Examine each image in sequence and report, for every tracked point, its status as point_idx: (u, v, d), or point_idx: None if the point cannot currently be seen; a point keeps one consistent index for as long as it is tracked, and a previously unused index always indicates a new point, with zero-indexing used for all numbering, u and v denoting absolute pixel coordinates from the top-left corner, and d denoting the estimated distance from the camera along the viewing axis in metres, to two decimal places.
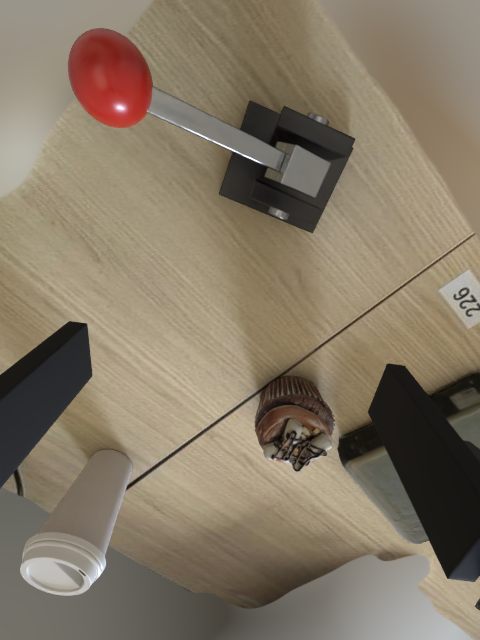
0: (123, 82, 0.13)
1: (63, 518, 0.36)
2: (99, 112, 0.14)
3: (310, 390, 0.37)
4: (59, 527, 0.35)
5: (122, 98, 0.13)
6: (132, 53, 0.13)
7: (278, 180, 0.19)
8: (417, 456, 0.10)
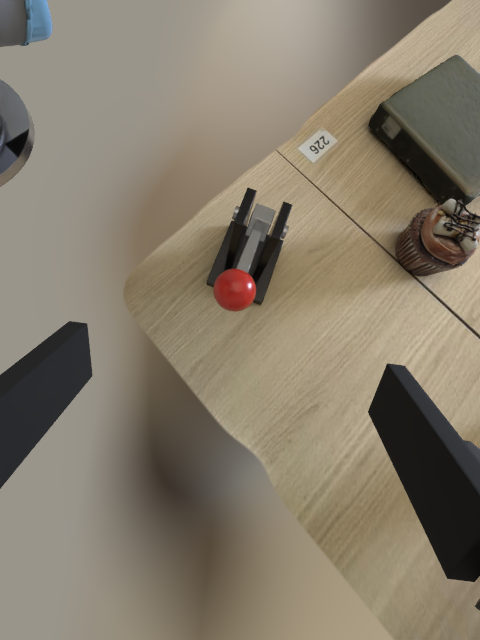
0: (240, 272, 0.25)
1: None
2: (252, 290, 0.25)
3: (405, 231, 0.45)
4: None
5: (246, 275, 0.25)
6: (226, 270, 0.25)
7: (269, 226, 0.32)
8: (417, 456, 0.10)
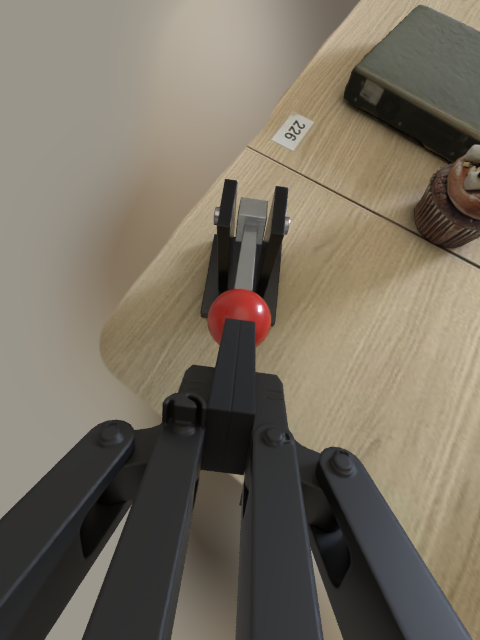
0: (242, 293, 0.16)
1: None
2: (266, 315, 0.16)
3: (424, 200, 0.37)
4: None
5: (252, 295, 0.16)
6: (220, 295, 0.17)
7: (264, 222, 0.23)
8: None
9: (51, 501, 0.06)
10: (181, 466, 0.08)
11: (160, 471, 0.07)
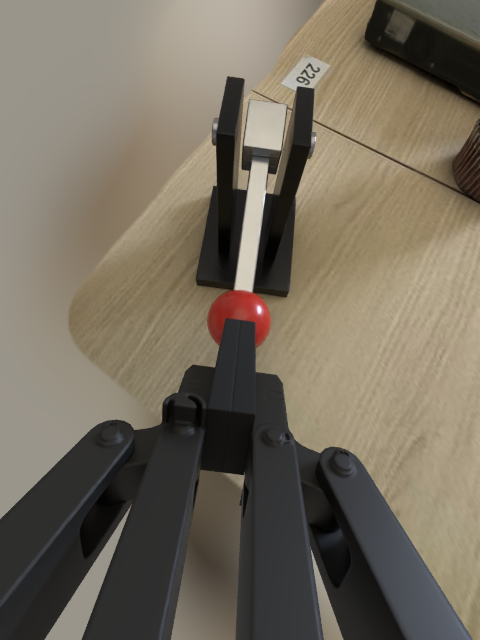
0: (239, 311, 0.16)
1: None
2: (264, 329, 0.16)
3: (467, 146, 0.31)
4: None
5: (250, 311, 0.16)
6: (218, 306, 0.16)
7: (278, 155, 0.17)
8: None
9: (51, 501, 0.06)
10: (181, 466, 0.08)
11: (160, 471, 0.07)
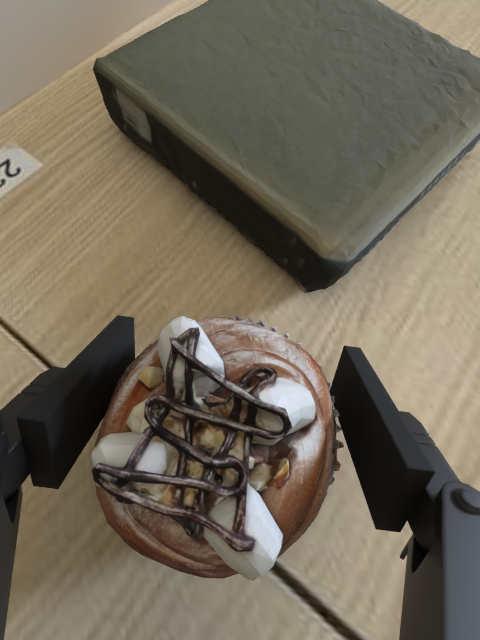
0: None
1: None
2: None
3: None
4: None
5: None
6: None
7: None
8: (360, 426, 0.11)
9: None
10: None
11: None
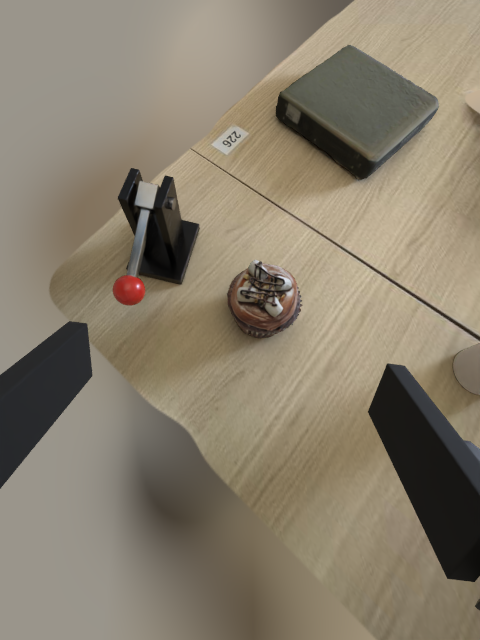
0: (123, 285, 0.34)
1: None
2: (136, 295, 0.35)
3: None
4: None
5: (129, 286, 0.34)
6: (116, 282, 0.35)
7: (152, 209, 0.35)
8: (417, 456, 0.10)
9: None
10: None
11: None
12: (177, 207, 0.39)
